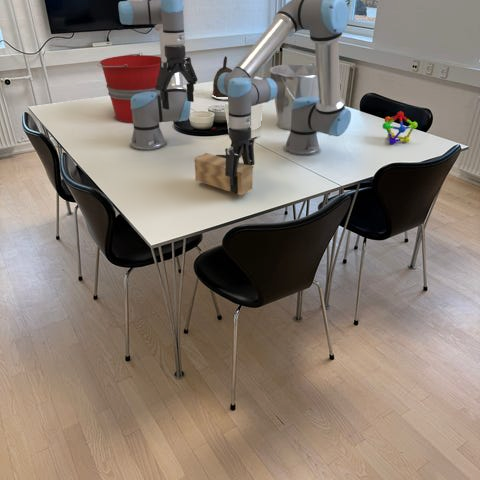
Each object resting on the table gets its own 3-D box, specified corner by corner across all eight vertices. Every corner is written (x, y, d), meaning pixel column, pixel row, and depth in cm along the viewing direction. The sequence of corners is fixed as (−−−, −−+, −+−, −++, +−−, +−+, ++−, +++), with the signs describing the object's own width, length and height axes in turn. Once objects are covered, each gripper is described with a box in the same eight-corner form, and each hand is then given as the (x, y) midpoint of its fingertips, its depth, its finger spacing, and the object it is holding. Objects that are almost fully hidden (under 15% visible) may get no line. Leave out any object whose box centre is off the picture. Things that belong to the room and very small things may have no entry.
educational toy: (377, 146, 209) (379, 114, 202) (384, 138, 219) (386, 107, 211) (411, 149, 202) (415, 116, 195) (417, 141, 212) (420, 109, 204)
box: (195, 180, 168) (194, 158, 164) (207, 174, 173) (206, 152, 168) (241, 195, 157) (241, 172, 152) (252, 188, 162) (252, 166, 157)
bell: (227, 105, 294) (202, 96, 282) (238, 66, 289) (213, 55, 277) (243, 108, 280) (217, 98, 268) (255, 66, 275) (229, 55, 263)
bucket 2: (296, 138, 215) (301, 78, 201) (255, 124, 234) (256, 68, 219) (335, 125, 232) (342, 70, 217) (294, 113, 251) (297, 61, 236)
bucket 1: (115, 106, 261) (107, 52, 245) (174, 107, 260) (170, 52, 244) (97, 124, 232) (87, 64, 216) (164, 125, 231) (159, 65, 215)
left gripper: (156, 50, 148) (162, 114, 159) (205, 42, 165) (207, 99, 176) (141, 48, 152) (147, 110, 163) (190, 40, 169) (193, 96, 180)
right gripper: (230, 137, 140) (231, 201, 152) (265, 121, 153) (264, 181, 166) (212, 132, 144) (215, 196, 156) (248, 117, 157) (248, 177, 169)
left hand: (178, 105), depth 170 cm, fingers open, 13 cm apart
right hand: (240, 188), depth 161 cm, fingers closed on box, 7 cm apart
